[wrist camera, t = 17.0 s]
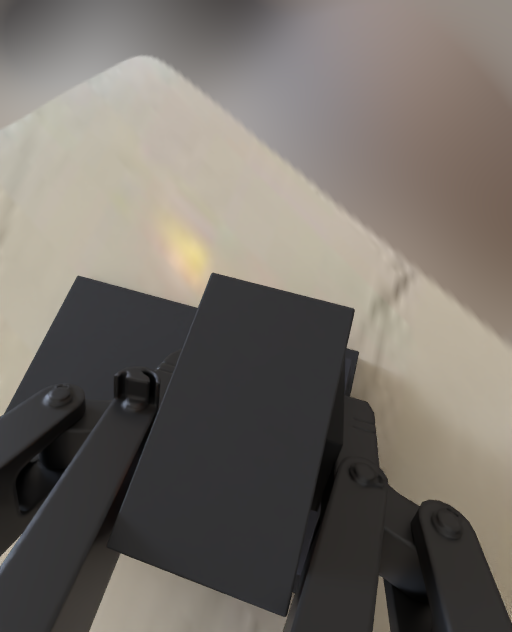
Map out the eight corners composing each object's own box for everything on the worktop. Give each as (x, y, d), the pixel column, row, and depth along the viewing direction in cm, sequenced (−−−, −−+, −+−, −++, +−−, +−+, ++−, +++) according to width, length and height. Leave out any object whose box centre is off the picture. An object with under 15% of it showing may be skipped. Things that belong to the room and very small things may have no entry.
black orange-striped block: (309, 388, 18) (356, 307, 8) (278, 515, 16) (287, 621, 6) (244, 369, 19) (210, 270, 9) (206, 490, 17) (103, 549, 7)
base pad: (355, 356, 21) (373, 335, 17) (305, 590, 17) (315, 629, 13) (85, 282, 24) (49, 250, 20) (-13, 470, 20) (-80, 474, 16)
